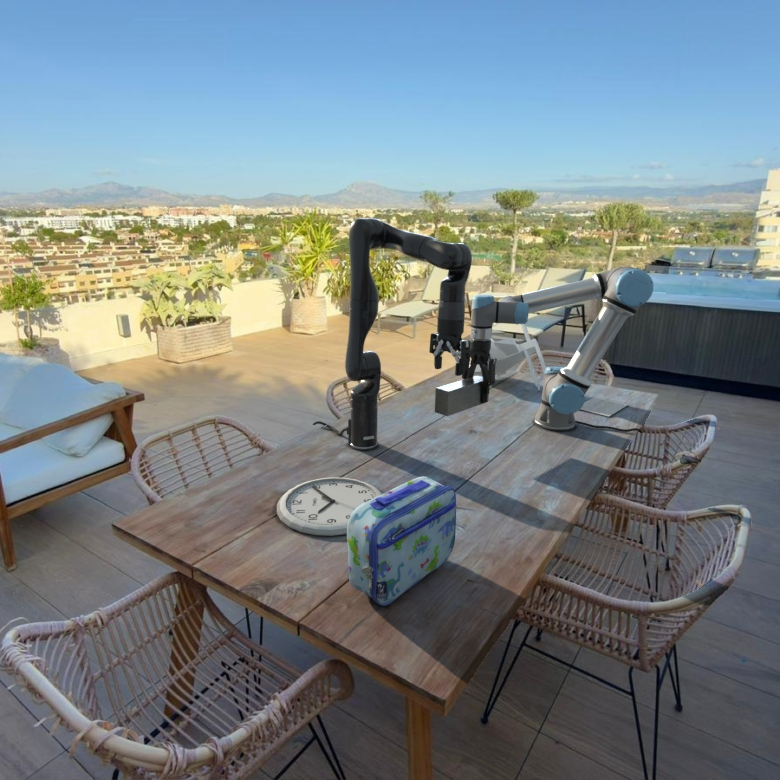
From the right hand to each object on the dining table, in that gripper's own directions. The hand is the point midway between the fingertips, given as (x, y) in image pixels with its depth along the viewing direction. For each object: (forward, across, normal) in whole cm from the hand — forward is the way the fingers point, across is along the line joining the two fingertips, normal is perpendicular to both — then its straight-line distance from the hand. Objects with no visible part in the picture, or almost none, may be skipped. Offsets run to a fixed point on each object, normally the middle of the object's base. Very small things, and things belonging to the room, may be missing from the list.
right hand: (476, 400), depth 194 cm
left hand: (-21, +16, -37) cm, 45 cm away
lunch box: (+12, +43, -81) cm, 93 cm away
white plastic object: (+12, -28, +60) cm, 67 cm away
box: (+1, 0, -8) cm, 9 cm away
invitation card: (+12, +20, +64) cm, 68 cm away
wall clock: (+12, +8, -74) cm, 75 cm away
